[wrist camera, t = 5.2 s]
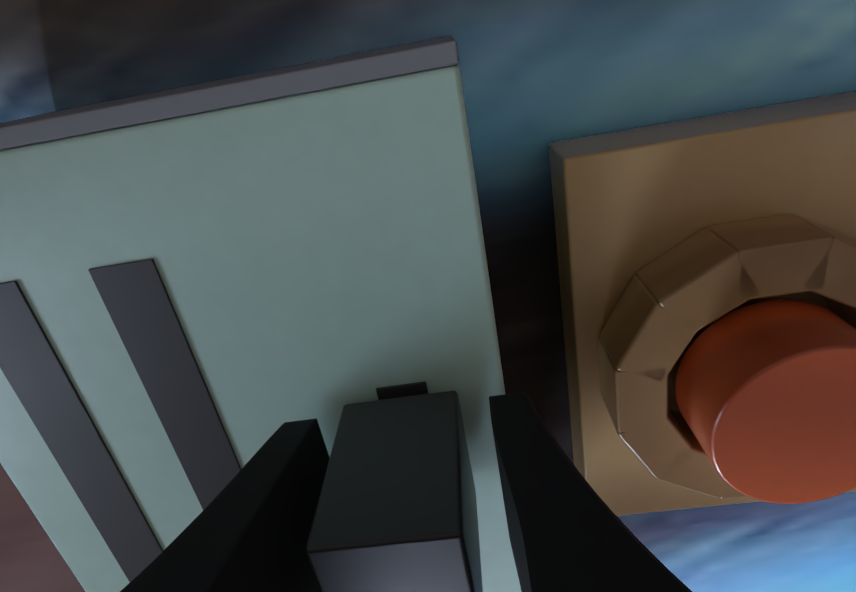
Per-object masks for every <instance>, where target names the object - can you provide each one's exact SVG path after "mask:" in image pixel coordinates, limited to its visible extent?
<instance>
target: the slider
mask: <svg viewBox="0 0 856 592" xmlns="http://www.w3.org/2000/svg"><path fill="white" fill-rule="evenodd" d="M305 551H306V554H307V557H308V560H309V562H310V565H311V567H312V570H313V573H314V575H315V578H316V580H317V583H318V585H319V588H320V591H321V592H483V588H482V573H481V559H480V544H479V530H478V515H477V501H476V490H475V485H474V479H473V474H472V469H471V463H470V458H469V452H468V447H467V441H466V436H465V431H464V425H463V420H462V414H461V409H460V403H459V398H458V393H457V392H456V391H454V390H453V391H445V392H437V393H430V394H422V395H414V396H406V397H399V398H391V399H383V400H375V401H368V402H360V403H352V404H346V405H344V406H343V409H342V413H341V417H340V421H339V424H338V428H337V432H336V436H335V439H334V443H333V447H332V451H331V454H330V458H329V462H328V466H327V469H326V473H325V477H324V481H323V484H322V488H321V492H320V496H319V499H318V503H317V507H316V511H315V514H314V518H313V522H312V526H311V529H310V533H309V537H308V541H307V545H306V549H305Z"/></svg>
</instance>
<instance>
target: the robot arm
mask: <svg viewBox="0 0 856 592" xmlns="http://www.w3.org/2000/svg"><path fill="white" fill-rule="evenodd" d="M489 404H490V414H491V423H492V429H493V436H494V442H495V448H496V455H497V461H498V468H499V474H500V480H501V487H502V493H503V500H504V506H505V512H506V519H507V525H508V531H509V538H510V543H511V547H512V552H513V556H514V561H515V565H516V569H517V574H518V578H519V582H520V587H521V591H522V592H692V591H691V590H690V589H689V588H688V587H687V586H685V585H684V584H683V583H682V582H681V581H680V580H679V579H678V578H677V577H676V576H675V575H674V574H673V573H671V572H670V571H669V570H668V569H667V568H666V567H665V566H664V565H663V564H662V563H661V562H660V561H659V560H658V559H657V558H656V557H655V556H654V555H653V554H652V553H651V552H650V551H649V550H648V549H647V548H646V547H645V546H644V545H643V544H642V543H641V542H640V541H639V540H638V539H637V538H636V537H635V536H634V535H633V534H632V532H631V531H630V530H629V529H628V528H627V527H626V526H625V525H624V524H623V523H622V522H621V521H620V519H619V518H618V517H617V516H616V515H615V514H614V513H613V512H612V510H611V509H610V508H609V507H608V506H607V505H606V504H605V502H604V501H603V500H602V499H601V498H600V497H599V496H598V494H597V493H596V492H595V491H594V490H593V488H592V487H591V486H590V485H589V483H588V482H587V481H586V480H585V479H584V477H583V476H582V475H581V473H580V472H579V471H578V469H577V468H576V467H575V466H574V464H573V463H572V462H571V460H570V459H569V458H568V456H567V455H566V454H565V452H564V451H563V450H562V448H561V447H560V445H559V444H558V443H557V441H556V440H555V438H554V437H553V435H552V434H551V432H550V431H549V429H548V428H547V426H546V425H545V423H544V421H543V420H542V418H541V416H540V414H539V413H538V411H537V409H536V407H535V405H534V403H533V401H532V399H531V397H530V396H529V395H527V394H526V393H525V392H521V393H513V394H505V395H497V396H489ZM329 458H330V457H329V454H328V451H327V448H326V445H325V442H324V439H323V436H322V433H321V430H320V427H319V424H318V421H317V418H316V419H308V420H300V421H292V422H284V423H283V424H282V425H281V426H280V427H279V428H278V430H277V431H276V432H275V433H274V434H273V435H272V436H271V437H270V438H269V439H268V440H267V441H266V442H265V444H264V445H263V446H262V447H261V448H260V449H259V450H258V451H257V452H256V454H255V455H254V456H253V457H252V458H251V459H250V460H249V461H248V462H247V464H246V465H245V466H244V467H243V468H242V469H241V470H240V471H239V472H238V474H237V475H236V476H235V477H234V478H233V479H232V480H231V481H230V482H229V483H228V484H227V486H226V487H225V488H224V489H223V490H222V491H221V492H220V493H219V494H218V495H217V496H216V497H215V499H214V500H213V501H212V502H211V503H210V504H209V505H208V506H207V507H206V508H205V509H204V510H203V511H202V512H201V513H200V514H199V515H198V516H197V517H196V518H195V519H194V520H193V521H192V522H191V523H190V525H189V526H188V527H187V528H186V529H185V530H184V531H183V532H182V533H181V534H180V535H179V536H178V537H177V538H176V539H175V540H174V541H173V542H172V543H171V544H170V545H169V546H168V547H167V548H166V549H165V550H164V551H163V552H162V553H161V554H160V555H159V556H158V557H157V558H156V559H155V560H154V561H153V562H152V563H150V564H149V565H148V566H147V567H146V568H145V569H144V570H143V571H142V572H141V573H140V574H139V575H138V576H137V577H135V578H134V579H133V580H132V581H131V582H130V583H129V584H128V585H127V586H126V587H125V588H123V589H122V590H121V591H120V592H321V591H320V588H319V585H318V583H317V580H316V578H315V575H314V573H313V570H312V567H311V565H310V562H309V560H308V557H307V554H306V551H305V549H306V545H307V541H308V537H309V533H310V529H311V526H312V522H313V518H314V514H315V511H316V507H317V503H318V499H319V496H320V492H321V488H322V484H323V481H324V477H325V473H326V469H327V466H328V462H329Z"/></svg>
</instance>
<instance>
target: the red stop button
mask: <svg viewBox="0 0 856 592" xmlns="http://www.w3.org/2000/svg"><path fill="white" fill-rule="evenodd" d="M675 397H676V401H677V405H678V408H679V410H680V412H681V414H682V416H683V417H684V419H685V421H686V422H687V424H688V425H689V427H690V429H691V430H692V432H693V433H694V435H695V437H696V438H697V440H698V442H699V443H700V445H701V446H702V448H703V450H704V451H705V453H706V455H707V456H708V458H709V459H710V461H711V463H712V464H713V466H714V468H715V469H716V471H717V472H718V474H719V475H720V477H721V478H722V479H723V480H724V481H725V482H726V483H727V484H728V485H730V486H731V487H732V488H734V489H735V490H737V491H739V492H740V493H742V494H744V495H746V496H749V497H751V498H754V499H757V500H761V501H765V502H771V503H779V504H797V503H807V502H814V501H819V500H823V499H827V498H830V497H833V496H837V495H840V494H842V493H845V492H847V491H849V490H852V489H854V488H856V329H855V328H854V327H852V326H851V325H850V324H848V323H847V322H846V321H844V320H843V319H841V318H840V317H839V316H837V315H836V314H834V313H833V312H831V311H830V310H828V309H826V308H824V307H822V306H820V305H817V304H814V303H811V302H807V301H801V300H791V299H779V300H768V301H763V302H758V303H754V304H751V305H748V306H745V307H742V308H740V309H737V310H735V311H733V312H731V313H729V314H727V315H725V316H723V317H722V318H720V319H719V320H717V321H716V322H714V323H713V324H711V325H710V326H709V327H708V328H707V329H705V330H704V331H703V332H702V333H701V334H700V335H699V336H698V337H697V338H696V339H695V340H694V341H693V343H692V344H691V345H690V347H689V348H688V349H687V351H686V353H685V354H684V356H683V358H682V360H681V362H680V365H679V367H678V371H677V374H676V380H675Z"/></svg>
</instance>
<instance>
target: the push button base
mask: <svg viewBox="0 0 856 592" xmlns="http://www.w3.org/2000/svg"><path fill="white" fill-rule="evenodd" d="M549 156H550V168H551V181H552V193H553V206H554V219H555V231H556V244H557V257H558V269H559V282H560V294H561V307H562V320H563V332H564V345H565V358H566V370H567V383H568V396H569V408H570V421H571V433H572V446H573V459H574V466H575V467H576V468H577V469H578V471H579V472H580V473H581V475H582V476H583V477H584V479H585V480H586V481H587V482H588V483H589V485H590V486H591V487H592V488H593V490H594V491H595V492H596V493H597V494H598V496H599V497H600V498H601V499H602V500H603V501H604V502H605V504H606V505H607V506H608V507H609V508H610V509H611V510H612V512H613V513H614V514H615V515H616V516H620V515H630V514H639V513H649V512H659V511H668V510H678V509H688V508H698V507H707V506H717V505H727V504H736V503H746V502H756V501H761V500H757V499H754V498H751V497H749V496H746V495H744V494H742V493H740V492H739V491H737V490H735V489H734V488H732V487H731V486H730V485H728V484H727V483H726V482H725V481H724V480H723V479H722V478H721V477H720V475H719V474H718V472H717V471H716V469H715V468H714V466H713V464H712V463H711V461H710V459H709V458H708V456H707V455H706V453H705V451H704V450H703V448H702V446H701V445H700V443H699V442H698V440H697V438H696V437H695V435H694V433H693V432H692V430H691V429H690V427H689V425H688V424H687V422H686V421H685V419H684V417H683V416H682V414H681V412H680V410H679V408H678V405H677V401H676V397H675V380H676V374H677V371H678V367H679V365H680V362H681V360H682V358H683V356H684V354H685V353H686V351H687V349H688V348H689V347H690V345H691V344H692V343H693V341H694V340H695V339H696V338H697V337H698V336H699V335H700V334H701V333H702V332H703V331H704V330H705V329H707V328H708V327H709V326H710V325H711V324H713V323H714V322H716V321H717V320H719V319H720V318H722V317H723V316H725V315H727V314H729V313H731V312H733V311H735V310H737V309H740V308H742V307H745V306H748V305H751V304H754V303H758V302H763V301H768V300H779V299H791V300H801V301H807V302H811V303H814V304H817V305H820V306H822V307H824V308H826V309H828V310H830V311H831V312H833V313H834V314H836V315H837V316H839V317H840V318H841V319H843V320H844V321H846V322H847V323H848V324H850V325H851V326H852V327H854V328H855V329H856V91H851V92H845V93H839V94H833V95H827V96H821V97H816V98H810V99H804V100H798V101H792V102H786V103H780V104H775V105H769V106H763V107H757V108H751V109H745V110H739V111H734V112H728V113H722V114H716V115H710V116H704V117H698V118H692V119H687V120H681V121H675V122H669V123H663V124H657V125H651V126H646V127H640V128H634V129H628V130H622V131H616V132H610V133H604V134H599V135H593V136H587V137H581V138H575V139H569V140H563V141H558V142H552V143H550V144H549ZM853 491H856V488H854V489H852V490H849V491H847V492H853Z"/></svg>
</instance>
